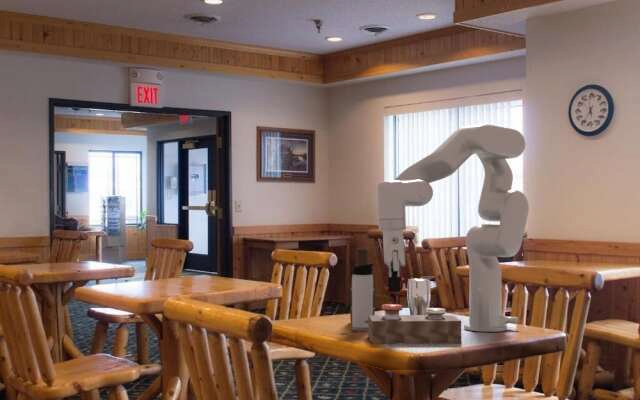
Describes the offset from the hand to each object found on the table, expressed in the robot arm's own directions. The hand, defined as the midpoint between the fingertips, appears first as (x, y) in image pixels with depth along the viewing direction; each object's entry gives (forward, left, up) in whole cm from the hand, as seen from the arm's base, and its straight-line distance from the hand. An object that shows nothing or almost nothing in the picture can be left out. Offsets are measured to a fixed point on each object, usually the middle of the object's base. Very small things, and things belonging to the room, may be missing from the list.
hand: (394, 291), depth 210 cm
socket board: (-5, 0, -13) cm, 14 cm away
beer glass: (-10, -19, -14) cm, 25 cm away
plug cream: (-11, 0, -13) cm, 17 cm away
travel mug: (+7, -18, -14) cm, 24 cm away
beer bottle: (+6, -33, -14) cm, 36 cm away
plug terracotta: (+1, 0, -12) cm, 12 cm away
